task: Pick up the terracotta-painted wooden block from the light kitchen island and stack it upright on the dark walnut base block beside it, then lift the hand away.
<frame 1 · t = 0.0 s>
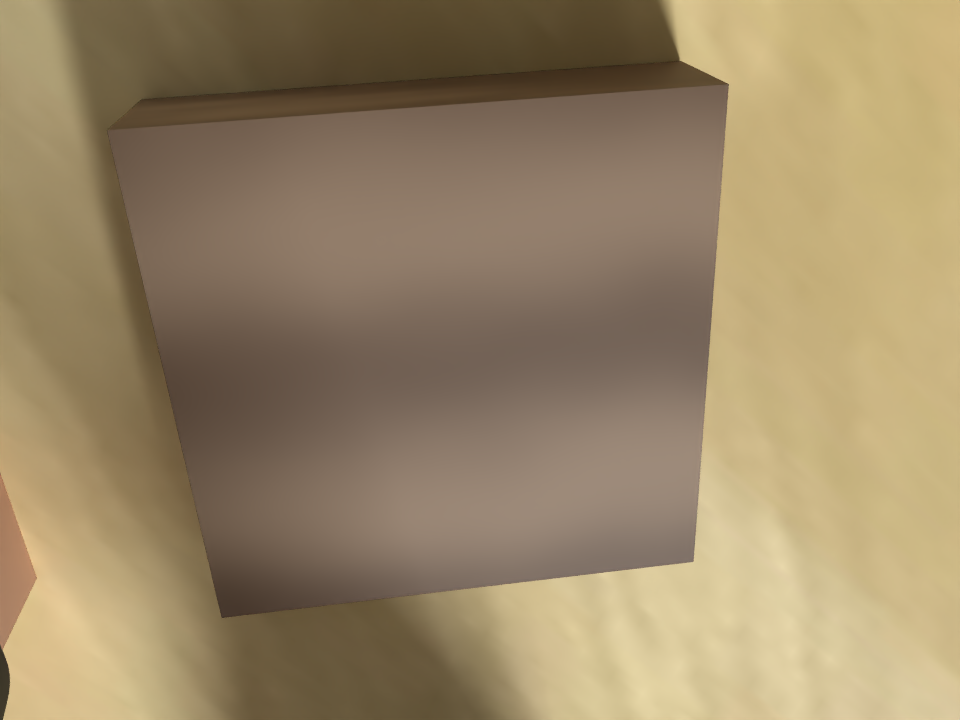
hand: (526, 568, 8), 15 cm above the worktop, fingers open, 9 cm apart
walnut base: (436, 325, 23), on the worktop
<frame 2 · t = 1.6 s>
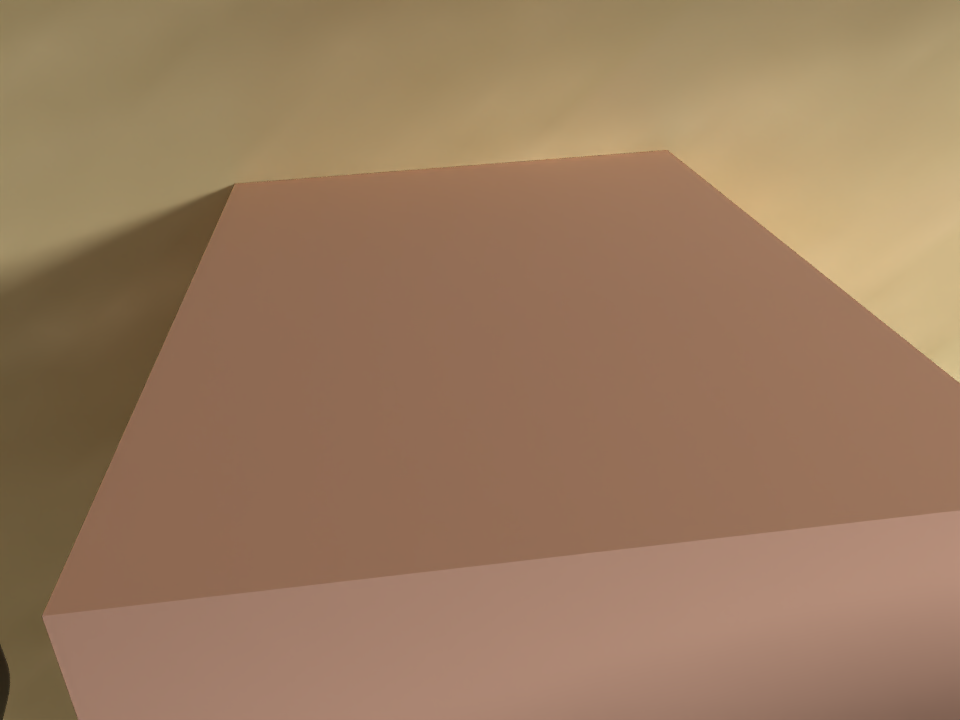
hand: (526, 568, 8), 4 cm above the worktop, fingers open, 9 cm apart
terracotta block: (466, 359, 12), on the worktop
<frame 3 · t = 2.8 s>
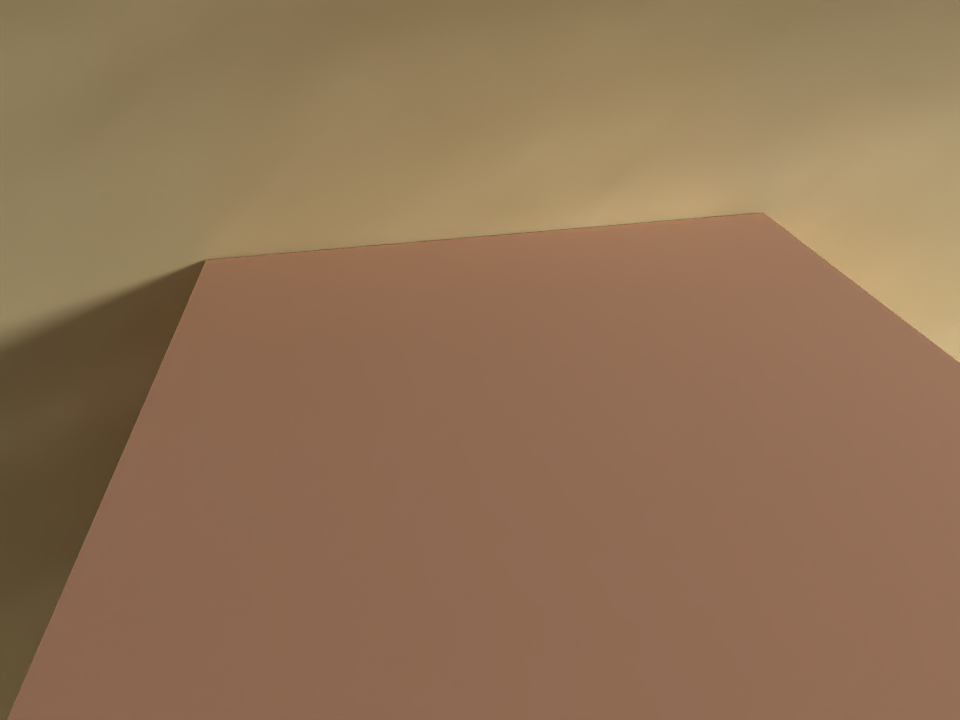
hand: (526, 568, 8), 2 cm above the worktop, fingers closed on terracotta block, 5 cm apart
terracotta block: (501, 470, 9), on the worktop, touching gripper
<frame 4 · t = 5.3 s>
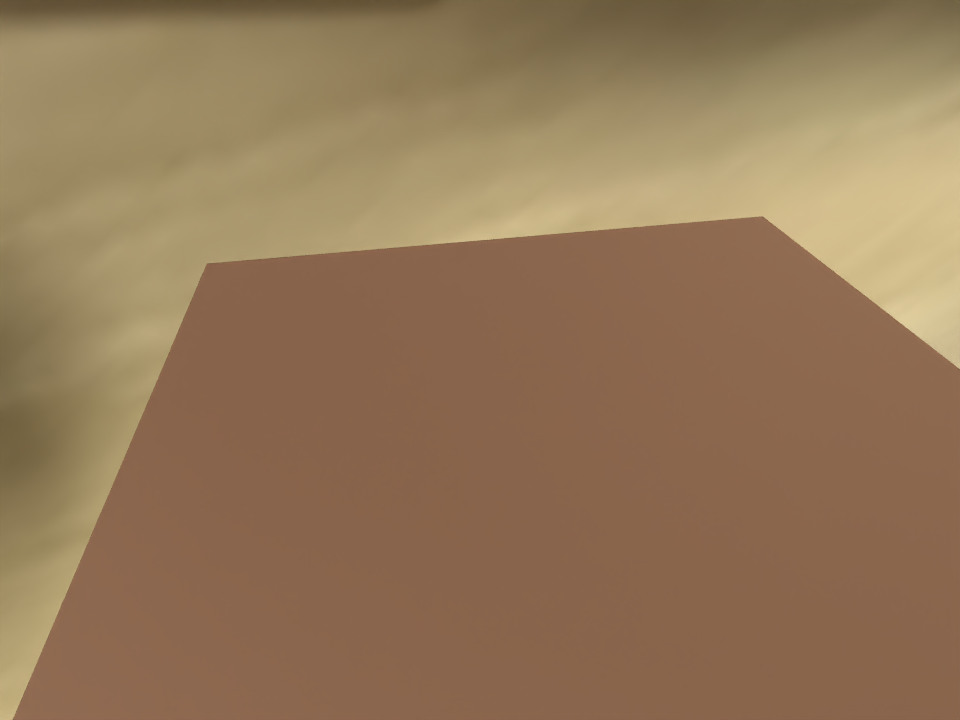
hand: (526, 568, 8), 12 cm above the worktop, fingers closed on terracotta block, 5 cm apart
terracotta block: (502, 472, 9), point 10 cm above the worktop, touching gripper
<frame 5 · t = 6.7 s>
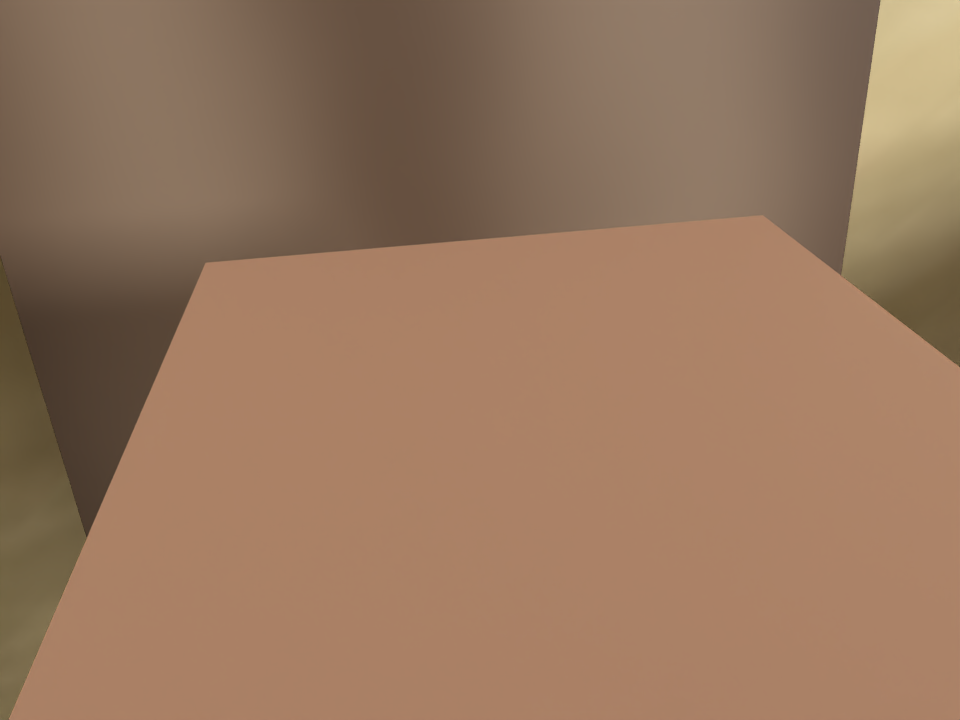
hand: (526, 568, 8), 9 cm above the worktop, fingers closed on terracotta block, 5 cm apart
terracotta block: (501, 472, 9), point 8 cm above the worktop, touching gripper
walnut base: (434, 231, 16), on the worktop
when the fingers open (6 cm above the worktop, at t = 8.0 s): terracotta block drops 1 cm, resting on walnut base.
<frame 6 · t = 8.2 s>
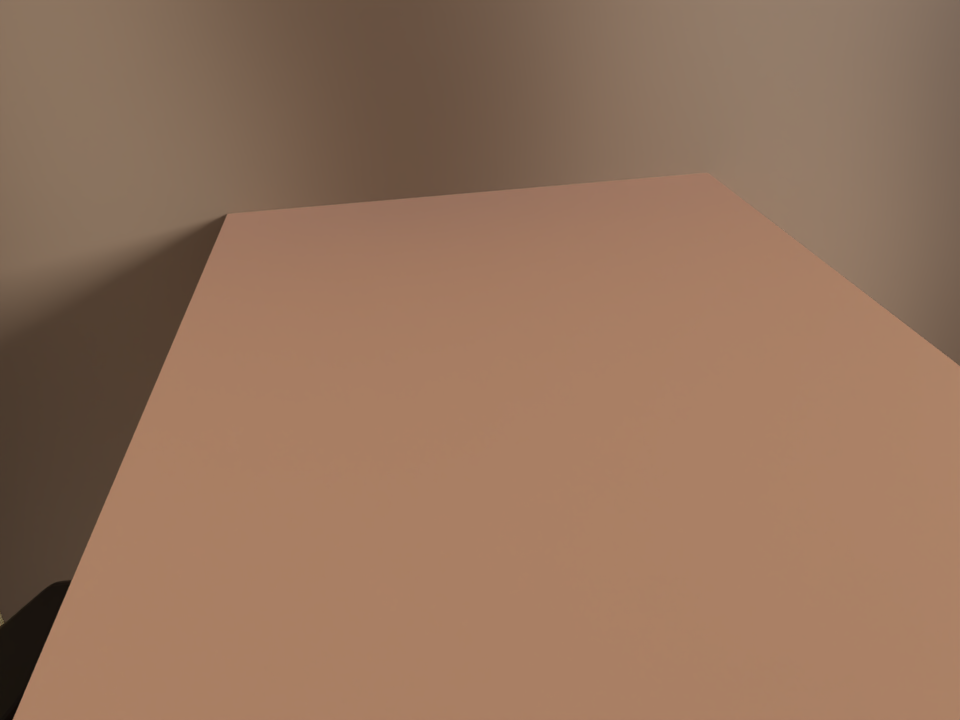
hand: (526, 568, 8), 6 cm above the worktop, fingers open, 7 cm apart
terracotta block: (484, 402, 10), point 3 cm above the worktop, touching walnut base
walnut base: (456, 299, 13), on the worktop
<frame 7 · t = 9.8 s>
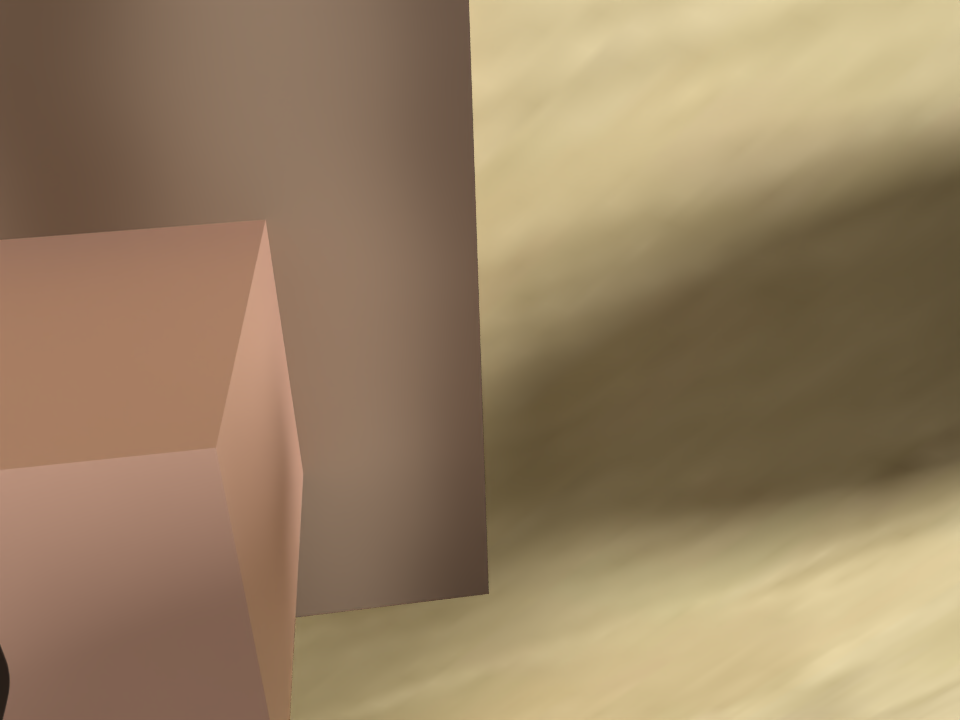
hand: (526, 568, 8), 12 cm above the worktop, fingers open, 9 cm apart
terracotta block: (139, 369, 16), point 3 cm above the worktop, touching walnut base
walnut base: (165, 300, 18), on the worktop
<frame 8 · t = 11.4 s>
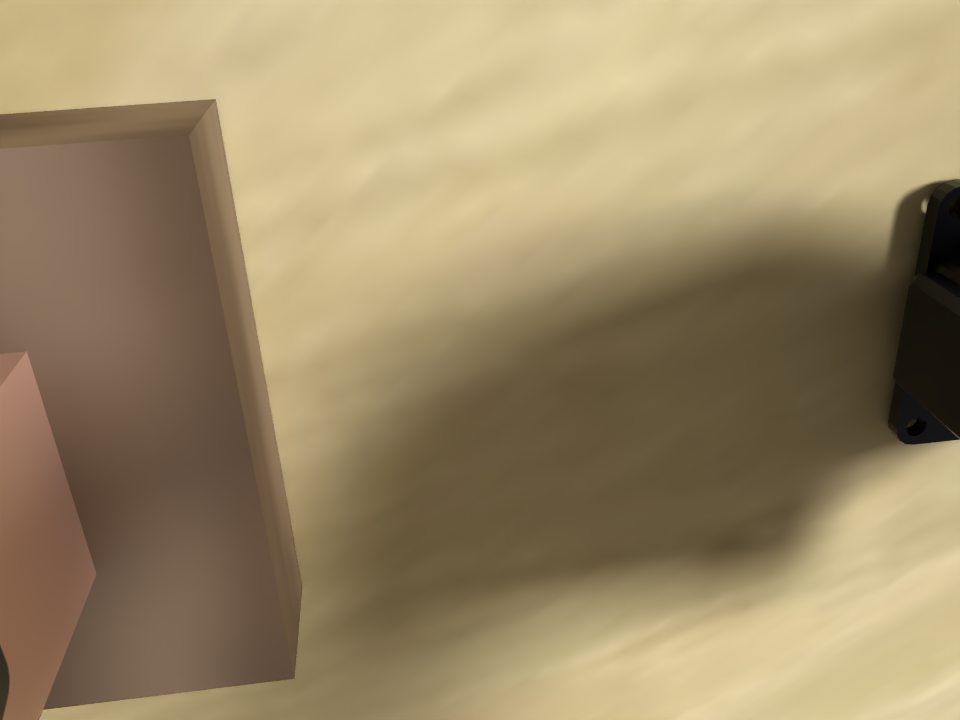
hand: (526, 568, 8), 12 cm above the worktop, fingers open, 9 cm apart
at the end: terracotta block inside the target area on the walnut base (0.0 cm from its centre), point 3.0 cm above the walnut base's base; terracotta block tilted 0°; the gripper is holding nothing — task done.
